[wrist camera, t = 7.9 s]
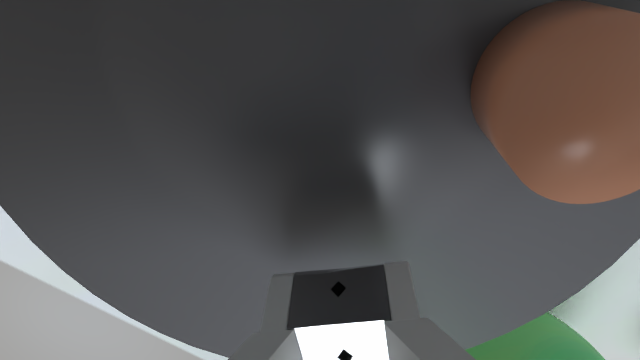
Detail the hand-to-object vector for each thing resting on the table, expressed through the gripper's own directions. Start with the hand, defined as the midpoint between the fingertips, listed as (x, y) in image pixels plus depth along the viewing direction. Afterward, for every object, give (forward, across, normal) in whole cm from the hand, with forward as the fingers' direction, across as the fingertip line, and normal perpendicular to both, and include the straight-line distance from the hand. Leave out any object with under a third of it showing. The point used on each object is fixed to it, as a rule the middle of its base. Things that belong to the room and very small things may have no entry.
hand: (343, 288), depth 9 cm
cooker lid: (+3, 0, -5) cm, 6 cm away
